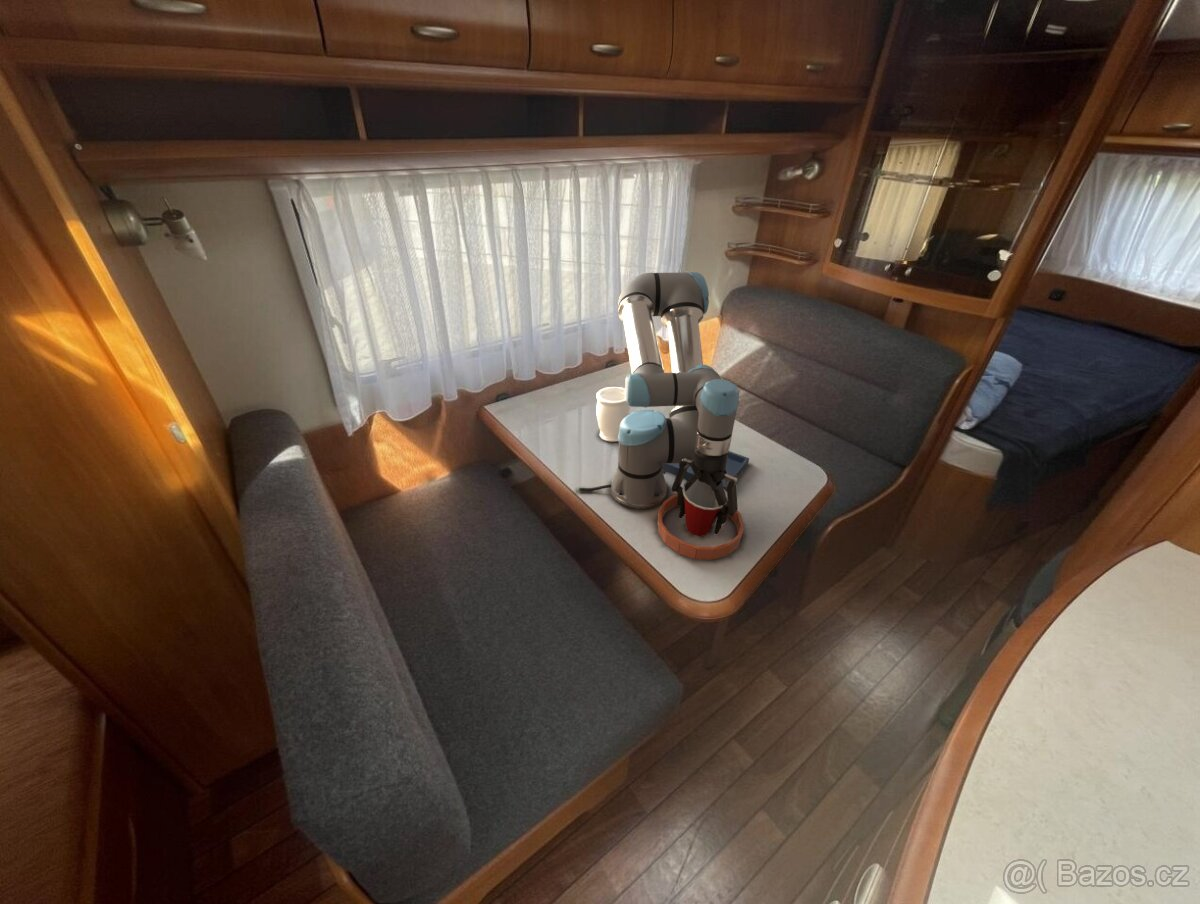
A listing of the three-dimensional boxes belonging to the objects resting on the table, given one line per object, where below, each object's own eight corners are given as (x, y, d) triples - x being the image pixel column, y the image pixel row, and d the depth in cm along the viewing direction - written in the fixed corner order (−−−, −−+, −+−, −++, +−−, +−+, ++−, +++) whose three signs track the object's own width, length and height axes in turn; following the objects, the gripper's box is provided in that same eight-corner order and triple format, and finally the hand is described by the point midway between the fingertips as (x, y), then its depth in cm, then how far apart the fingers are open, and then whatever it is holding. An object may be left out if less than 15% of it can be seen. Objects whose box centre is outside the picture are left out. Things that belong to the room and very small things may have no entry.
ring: (659, 557, 112) (660, 547, 110) (656, 500, 129) (656, 490, 127) (748, 561, 111) (751, 550, 109) (733, 502, 128) (735, 492, 126)
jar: (614, 423, 161) (615, 383, 153) (635, 436, 155) (637, 395, 146) (590, 434, 156) (589, 393, 147) (610, 447, 149) (611, 406, 141)
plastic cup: (721, 547, 115) (729, 510, 108) (675, 540, 117) (681, 503, 110) (720, 516, 124) (728, 480, 117) (678, 511, 125) (683, 475, 118)
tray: (656, 466, 141) (656, 459, 140) (682, 441, 152) (683, 434, 151) (724, 494, 131) (725, 487, 129) (747, 465, 142) (749, 458, 140)
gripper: (660, 440, 109) (654, 513, 122) (752, 474, 98) (734, 550, 111) (676, 425, 114) (668, 498, 127) (765, 457, 103) (747, 532, 116)
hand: (699, 522), depth 119 cm, fingers closed on plastic cup, 9 cm apart
